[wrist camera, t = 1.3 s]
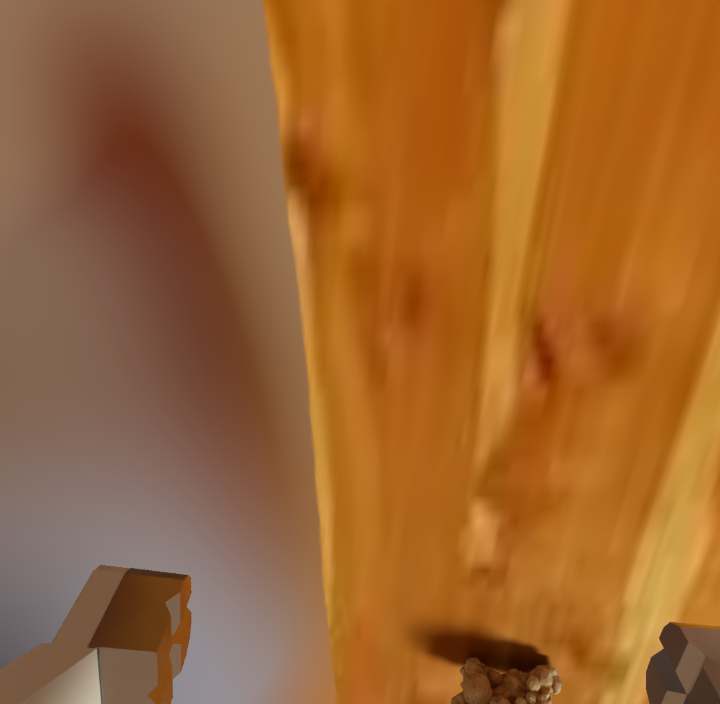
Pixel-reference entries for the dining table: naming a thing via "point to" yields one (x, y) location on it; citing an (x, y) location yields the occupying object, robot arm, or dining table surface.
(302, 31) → the dining table surface
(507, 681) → the mineral formation
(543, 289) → the dining table surface
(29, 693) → the robot arm
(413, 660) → the dining table surface
